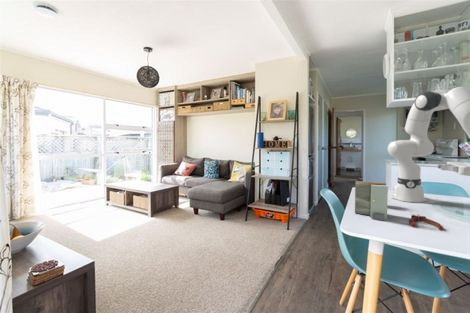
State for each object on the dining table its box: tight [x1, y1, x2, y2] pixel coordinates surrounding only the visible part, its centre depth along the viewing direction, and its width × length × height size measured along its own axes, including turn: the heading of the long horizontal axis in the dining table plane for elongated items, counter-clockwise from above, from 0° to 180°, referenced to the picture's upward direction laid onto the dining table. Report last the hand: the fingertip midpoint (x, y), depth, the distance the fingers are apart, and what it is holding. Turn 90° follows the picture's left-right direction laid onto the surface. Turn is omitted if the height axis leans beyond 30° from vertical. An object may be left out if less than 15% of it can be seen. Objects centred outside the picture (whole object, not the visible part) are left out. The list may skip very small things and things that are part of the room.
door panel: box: [369, 185, 389, 221], centre depth 112 cm, size 3×7×17 cm, turn 61°
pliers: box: [408, 212, 444, 231], centre depth 107 cm, size 12×20×3 cm, turn 155°
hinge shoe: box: [371, 213, 385, 221], centre depth 113 cm, size 5×5×3 cm
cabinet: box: [354, 180, 387, 216], centre depth 119 cm, size 8×14×17 cm, turn 60°
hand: (439, 167), depth 103 cm, fingers open, 4 cm apart
